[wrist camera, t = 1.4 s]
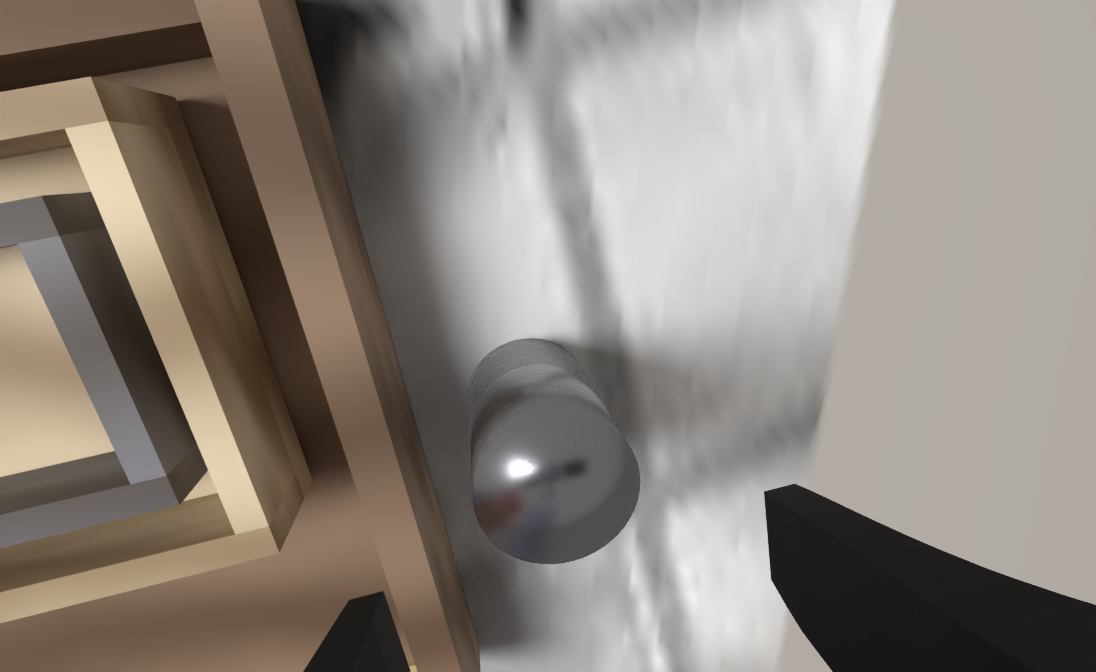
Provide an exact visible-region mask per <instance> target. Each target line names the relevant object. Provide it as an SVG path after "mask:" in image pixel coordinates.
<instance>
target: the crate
mask: <svg viewBox="0 0 1096 672" xmlns="http://www.w3.org/2000/svg"><path fill="white" fill-rule="evenodd" d="M311 483H312V477H311V474H310V472H309V469H308V466H307V463H306V460H305V458H304V455H303V452H302V449H301V446H300V444H299V441H298V438H297V435H296V432H295V430H294V427H293V424H292V421H291V419H290V416H289V413H288V410H287V407H286V405H285V402H284V399H283V396H282V393H281V391H280V388H279V385H278V382H277V379H276V377H275V374H274V371H273V368H272V366H271V363H270V360H269V357H268V354H267V352H266V349H265V346H264V343H263V340H262V338H261V335H260V332H259V329H258V326H257V324H256V321H255V318H254V315H253V313H252V310H251V307H250V304H249V301H248V299H247V296H246V293H245V290H244V287H243V285H242V282H241V279H240V276H239V273H238V271H237V268H236V265H235V262H234V260H233V257H232V254H231V251H230V248H229V246H228V243H227V240H226V237H225V234H224V232H223V229H222V226H221V223H220V220H219V218H218V215H217V212H216V209H215V207H214V204H213V201H212V198H211V195H210V193H209V190H208V187H207V184H206V181H205V179H204V176H203V173H202V170H201V167H200V165H199V162H198V159H197V156H196V153H195V151H194V148H193V145H192V142H191V140H190V137H189V134H188V131H187V128H186V126H185V123H184V120H183V117H182V114H181V112H180V109H179V106H178V103H177V100H176V98H175V97H173V96H169V95H164V94H160V93H156V92H152V91H148V90H144V89H140V88H136V87H132V86H127V85H123V84H119V83H115V82H111V81H107V80H103V79H99V78H95V77H85V78H79V79H73V80H67V81H62V82H56V83H50V84H44V85H38V86H33V87H27V88H21V89H15V90H9V91H4V92H0V623H4V622H8V621H12V620H16V619H20V618H24V617H28V616H32V615H36V614H40V613H44V612H48V611H52V610H56V609H60V608H63V607H67V606H71V605H75V604H79V603H83V602H87V601H91V600H95V599H99V598H103V597H107V596H111V595H115V594H119V593H123V592H127V591H131V590H135V589H139V588H143V587H147V586H151V585H155V584H159V583H163V582H167V581H171V580H175V579H179V578H183V577H187V576H191V575H195V574H199V573H203V572H207V571H211V570H215V569H219V568H223V567H227V566H231V565H235V564H239V563H243V562H247V561H251V560H255V559H259V558H263V557H267V556H271V555H275V554H279V553H280V551H281V549H282V547H283V544H284V542H285V540H286V538H287V536H288V533H289V531H290V529H291V527H292V525H293V522H294V520H295V518H296V516H297V514H298V511H299V509H300V507H301V505H302V503H303V500H304V498H305V496H306V494H307V492H308V489H309V487H310V485H311Z"/></svg>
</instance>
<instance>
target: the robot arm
mask: <svg viewBox="0 0 1096 672" xmlns="http://www.w3.org/2000/svg"><path fill="white" fill-rule="evenodd" d="M764 495H765V508H766V520H767V532H768V545H769V557H770V570H771V580H772V582H773V583H774V585H775V587H776V589H777V590H778V592H779V594H780V595H781V597H782V599H783V601H784V602H785V604H786V606H787V608H788V609H789V611H790V612H791V614H792V616H793V617H794V619H795V621H796V622H797V624H798V625H799V627H800V629H801V630H802V632H803V633H804V634H805V636H806V637H807V638H808V640H809V641H810V642H811V644H812V645H813V646H814V648H815V649H816V650H817V652H818V653H819V654H820V656H821V657H822V658H823V659H824V661H825V662H826V663H827V665H828V666H829V667H830V669H831V670H832V671H833V672H1096V605H1094V604H1091V603H1087V602H1084V601H1080V600H1077V599H1074V598H1071V597H1068V596H1065V595H1061V594H1058V593H1055V592H1052V591H1049V590H1046V589H1043V588H1041V587H1038V586H1035V585H1032V584H1029V583H1026V582H1023V581H1020V580H1017V579H1014V578H1011V577H1008V576H1005V575H1003V574H1000V573H997V572H995V571H992V570H989V569H986V568H984V567H981V566H979V565H976V564H974V563H971V562H969V561H967V560H964V559H962V558H959V557H956V556H954V555H952V554H949V553H947V552H944V551H942V550H939V549H937V548H935V547H932V546H930V545H928V544H925V543H923V542H920V541H918V540H916V539H914V538H911V537H909V536H907V535H904V534H902V533H900V532H898V531H896V530H894V529H891V528H889V527H887V526H885V525H883V524H880V523H878V522H876V521H874V520H872V519H870V518H867V517H865V516H863V515H861V514H859V513H857V512H855V511H853V510H851V509H848V508H846V507H844V506H842V505H840V504H838V503H836V502H833V501H831V500H829V499H827V498H825V497H823V496H821V495H819V494H817V493H815V492H812V491H810V490H808V489H806V488H803V487H801V486H799V485H796V484H792V485H788V486H784V487H780V488H777V489H773V490H769V491H765V492H764ZM303 672H411V671H410V668H409V665H408V662H407V659H406V656H405V653H404V650H403V647H402V644H401V641H400V638H399V635H398V632H397V629H396V627H395V624H394V621H393V618H392V615H391V612H390V609H389V606H388V603H387V600H386V597H385V594H384V591H381V592H377V593H373V594H370V595H366V596H362V597H358V598H354V599H350V600H349V601H348V602H347V604H346V605H345V607H344V608H343V610H342V611H341V613H340V614H339V616H338V617H337V619H336V621H335V622H334V624H333V625H332V627H331V628H330V630H329V632H328V633H327V635H326V636H325V638H324V640H323V641H322V643H321V644H320V646H319V647H318V649H317V651H316V652H315V654H314V655H313V657H312V658H311V660H310V662H309V663H308V665H307V666H306V668H305V669H304V671H303Z"/></svg>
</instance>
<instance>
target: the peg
mask: <svg viewBox="0 0 1096 672" xmlns="http://www.w3.org/2000/svg"><path fill="white" fill-rule="evenodd" d="M468 409H469V428H470V447H471V466H472V485H473V503H474V509H475V514H476V517H477V519H478V522H479V524H480V526H481V528H482V530H483V531H484V533H485V534H486V535H487V537H488V538H489V539H490V540H491V541H492V542H493V543H494V544H495V545H496V546H497V547H498V548H500V549H501V550H502V551H504V552H506V553H507V554H509V555H511V556H513V557H516V558H518V559H521V560H524V561H528V562H532V563H539V564H557V563H565V562H570V561H574V560H577V559H580V558H583V557H585V556H588V555H590V554H592V553H594V552H596V551H597V550H599V549H601V548H602V547H604V546H605V545H606V544H608V543H609V542H610V541H611V540H612V539H614V538H615V537H616V536H617V535H618V534H619V532H620V531H621V530H622V529H623V528H624V527H625V525H626V524H627V522H628V520H629V519H630V517H631V515H632V513H633V511H634V509H635V506H636V503H637V500H638V496H639V491H640V474H639V468H638V464H637V461H636V458H635V456H634V453H633V451H632V450H631V448H630V446H629V445H628V443H627V441H626V440H625V438H624V437H623V435H622V433H621V432H620V430H619V428H618V427H617V425H616V424H615V422H614V420H613V419H612V417H611V416H610V414H609V412H608V411H607V409H606V407H605V406H604V404H603V403H602V401H601V399H600V398H599V396H598V394H597V393H596V391H595V390H594V388H593V386H592V385H591V383H590V382H589V380H588V378H587V377H586V375H585V373H584V372H583V370H582V369H581V367H580V365H579V364H578V362H577V361H576V360H575V358H574V357H573V356H572V355H571V354H570V353H569V352H568V351H566V350H565V349H563V348H562V347H560V346H558V345H556V344H554V343H551V342H549V341H545V340H541V339H521V340H515V341H512V342H508V343H506V344H504V345H502V346H500V347H498V348H496V349H495V350H493V351H492V352H491V353H489V354H488V355H487V356H486V357H485V358H484V359H483V360H482V361H481V363H480V364H479V365H478V366H477V368H476V370H475V372H474V373H473V376H472V378H471V381H470V385H469V390H468Z"/></svg>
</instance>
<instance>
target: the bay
mask: <svg viewBox="0 0 1096 672" xmlns="http://www.w3.org/2000/svg"><path fill="white" fill-rule="evenodd" d="M85 77H95V78H99V79H103V80H107V81H111V82H115V83H119V84H123V85H127V86H132V87H136V88H140V89H144V90H148V91H152V92H156V93H160V94H164V95H169V96H173V97H175V98H176V100H177V103H178V106H179V109H180V112H181V114H182V117H183V120H184V123H185V126H186V128H187V131H188V134H189V137H190V140H191V142H192V145H193V148H194V151H195V153H196V156H197V159H198V162H199V165H200V167H201V170H202V173H203V176H204V179H205V181H206V184H207V187H208V190H209V193H210V195H211V198H212V201H213V204H214V207H215V209H216V212H217V215H218V218H219V220H220V223H221V226H222V229H223V232H224V234H225V237H226V240H227V243H228V246H229V248H230V251H231V254H232V257H233V260H234V262H235V265H236V268H237V271H238V273H239V276H240V279H241V282H242V285H243V287H244V290H245V293H246V296H247V299H248V301H249V304H250V307H251V310H252V313H253V315H254V318H255V321H256V324H257V326H258V329H259V332H260V335H261V338H262V340H263V343H264V346H265V349H266V352H267V354H268V357H269V360H270V363H271V366H272V368H273V371H274V374H275V377H276V379H277V382H278V385H279V388H280V391H281V393H282V396H283V399H284V402H285V405H286V407H287V410H288V413H289V416H290V419H291V421H292V424H293V427H294V430H295V432H296V435H297V438H298V441H299V444H300V446H301V449H302V452H303V455H304V458H305V460H306V463H307V466H308V469H309V472H310V474H311V477H312V483H311V485H310V487H309V489H308V492H307V494H306V496H305V498H304V500H303V503H302V505H301V507H300V509H299V511H298V514H297V516H296V518H295V520H294V522H293V525H292V527H291V529H290V531H289V533H288V536H287V538H286V540H285V542H284V544H283V547H282V549H281V551H280V553H279V554H275V555H271V556H267V557H263V558H259V559H255V560H251V561H247V562H243V563H239V564H235V565H231V566H227V567H223V568H219V569H215V570H211V571H207V572H203V573H199V574H195V575H191V576H187V577H183V578H179V579H175V580H171V581H167V582H163V583H159V584H155V585H151V586H147V587H143V588H139V589H135V590H131V591H127V592H123V593H119V594H115V595H111V596H107V597H103V598H99V599H95V600H91V601H87V602H83V603H79V604H75V605H71V606H67V607H63V608H60V609H56V610H52V611H48V612H44V613H40V614H36V615H32V616H28V617H24V618H20V619H16V620H12V621H8V622H4V623H0V672H303V671H304V669H305V668H306V666H307V665H308V663H309V662H310V660H311V658H312V657H313V655H314V654H315V652H316V651H317V649H318V647H319V646H320V644H321V643H322V641H323V640H324V638H325V636H326V635H327V633H328V632H329V630H330V628H331V627H332V625H333V624H334V622H335V621H336V619H337V617H338V616H339V614H340V613H341V611H342V610H343V608H344V607H345V605H346V604H347V602H348V601H349V600H350V599H354V598H358V597H362V596H366V595H370V594H373V593H377V592H381V591H384V594H385V597H386V600H387V603H388V606H389V609H390V612H391V615H392V618H393V621H394V624H395V627H396V629H397V632H398V635H399V638H400V641H401V644H402V647H403V650H404V653H405V656H406V659H407V662H408V665H409V668H410V671H411V672H480V653H479V644H478V640H477V637H476V633H475V630H474V626H473V623H472V619H471V616H470V612H469V609H468V605H467V602H466V598H465V595H464V591H463V588H462V584H461V581H460V577H459V574H458V570H457V567H456V563H455V560H454V556H453V553H452V549H451V546H450V542H449V539H448V535H447V532H446V528H445V525H444V521H443V518H442V514H441V511H440V507H439V504H438V500H437V497H436V493H435V490H434V486H433V483H432V479H431V476H430V472H429V469H428V465H427V462H426V458H425V455H424V451H423V448H422V444H421V441H420V437H419V434H418V430H417V427H416V423H415V420H414V416H413V413H412V409H411V406H410V402H409V399H408V395H407V391H406V388H405V384H404V381H403V377H402V374H401V370H400V367H399V363H398V360H397V356H396V353H395V349H394V346H393V342H392V339H391V335H390V332H389V328H388V325H387V321H386V318H385V314H384V311H383V307H382V304H381V300H380V297H379V293H378V290H377V286H376V283H375V279H374V276H373V272H372V269H371V265H370V262H369V258H368V255H367V251H366V248H365V244H364V241H363V237H362V234H361V230H360V227H359V223H358V220H357V216H356V213H355V209H354V206H353V202H352V199H351V195H350V192H349V188H348V185H347V181H346V178H345V174H344V171H343V167H342V164H341V160H340V157H339V153H338V150H337V146H336V143H335V139H334V136H333V132H332V129H331V125H330V122H329V118H328V115H327V111H326V108H325V104H324V101H323V97H322V94H321V90H320V87H319V83H318V80H317V76H316V73H315V69H314V66H313V62H312V58H311V55H310V51H309V48H308V44H307V41H306V37H305V34H304V30H303V27H302V23H301V20H300V16H299V13H298V9H297V6H296V2H295V0H0V92H4V91H9V90H15V89H21V88H27V87H33V86H38V85H44V84H50V83H56V82H62V81H67V80H73V79H79V78H85Z"/></svg>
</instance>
